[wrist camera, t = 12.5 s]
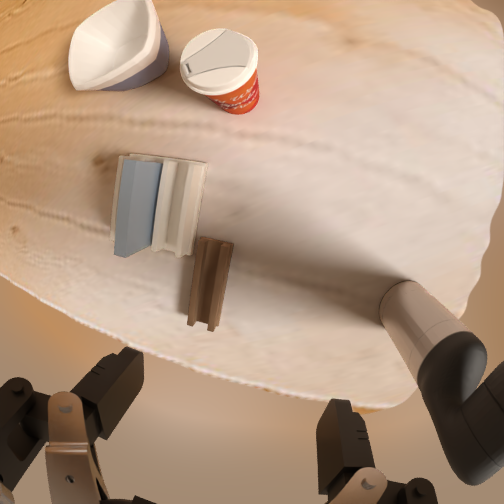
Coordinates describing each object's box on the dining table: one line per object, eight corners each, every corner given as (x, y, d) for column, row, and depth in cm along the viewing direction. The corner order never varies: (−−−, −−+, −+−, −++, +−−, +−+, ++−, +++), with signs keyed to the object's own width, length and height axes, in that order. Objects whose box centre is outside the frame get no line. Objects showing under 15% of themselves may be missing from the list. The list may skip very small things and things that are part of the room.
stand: (233, 243, 42) (229, 247, 39) (218, 324, 46) (215, 332, 43) (201, 236, 43) (196, 240, 40) (190, 316, 46) (185, 324, 43)
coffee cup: (223, 130, 38) (189, 105, 24) (204, 85, 37) (166, 46, 22) (276, 109, 37) (271, 70, 22) (255, 64, 35) (239, 13, 21)
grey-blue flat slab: (169, 164, 39) (136, 160, 30) (158, 241, 42) (125, 257, 33) (159, 162, 39) (124, 159, 30) (148, 238, 42) (114, 254, 33)
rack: (208, 163, 40) (198, 161, 35) (192, 253, 43) (182, 262, 39) (133, 153, 41) (117, 151, 36) (123, 236, 44) (107, 242, 40)
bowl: (103, 46, 36) (68, 26, 25) (176, 13, 34) (151, -19, 23) (106, 112, 39) (65, 101, 29) (186, 80, 37) (157, 54, 26)
